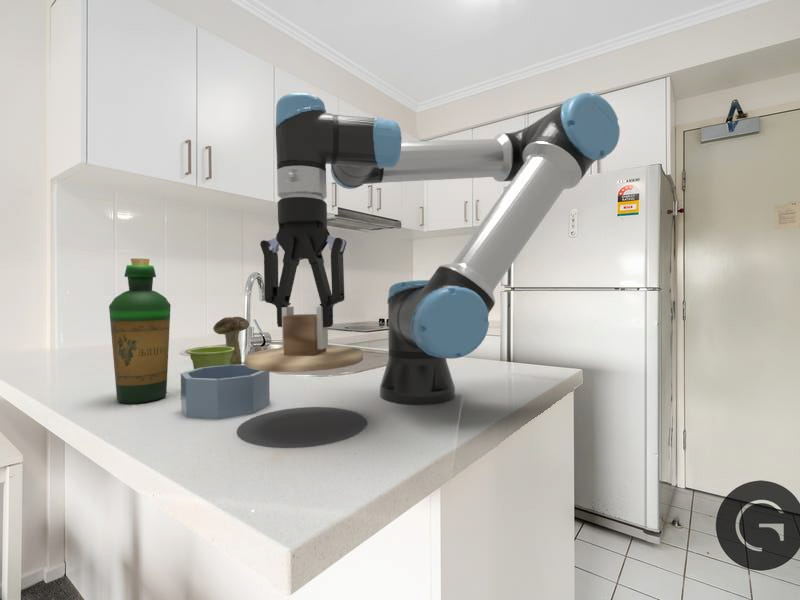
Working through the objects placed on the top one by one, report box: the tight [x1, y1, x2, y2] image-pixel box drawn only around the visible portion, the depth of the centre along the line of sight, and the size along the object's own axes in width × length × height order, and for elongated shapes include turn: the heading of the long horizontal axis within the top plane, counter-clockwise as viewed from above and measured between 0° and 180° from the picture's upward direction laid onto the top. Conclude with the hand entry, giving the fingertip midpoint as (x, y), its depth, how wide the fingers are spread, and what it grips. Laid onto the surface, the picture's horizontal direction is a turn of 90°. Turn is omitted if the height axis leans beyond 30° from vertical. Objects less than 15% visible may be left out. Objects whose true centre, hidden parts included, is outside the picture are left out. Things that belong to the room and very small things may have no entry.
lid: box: [244, 313, 364, 373], centre depth 68 cm, size 18×18×7 cm
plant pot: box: [187, 346, 234, 370], centre depth 95 cm, size 9×9×9 cm
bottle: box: [108, 258, 172, 405], centre depth 86 cm, size 11×11×28 cm
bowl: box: [180, 364, 271, 421], centre depth 78 cm, size 14×14×7 cm
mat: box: [236, 406, 368, 449], centre depth 68 cm, size 20×20×1 cm
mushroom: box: [212, 316, 250, 365], centre depth 110 cm, size 9×9×15 cm
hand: (305, 347), depth 68 cm, fingers closed on lid, 5 cm apart
